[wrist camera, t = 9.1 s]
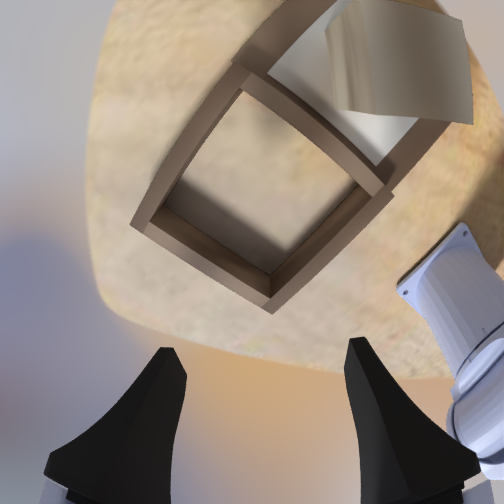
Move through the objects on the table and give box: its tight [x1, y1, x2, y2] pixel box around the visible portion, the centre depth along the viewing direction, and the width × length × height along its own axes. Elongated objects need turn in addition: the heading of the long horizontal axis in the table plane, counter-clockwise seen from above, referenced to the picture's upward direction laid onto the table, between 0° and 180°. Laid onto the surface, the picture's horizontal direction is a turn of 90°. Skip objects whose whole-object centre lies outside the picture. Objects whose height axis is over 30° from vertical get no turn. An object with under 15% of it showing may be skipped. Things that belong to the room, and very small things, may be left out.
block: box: [324, 0, 473, 125], centre depth 9 cm, size 5×5×6 cm
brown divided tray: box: [130, 0, 473, 314], centre depth 14 cm, size 12×21×2 cm, turn 143°
